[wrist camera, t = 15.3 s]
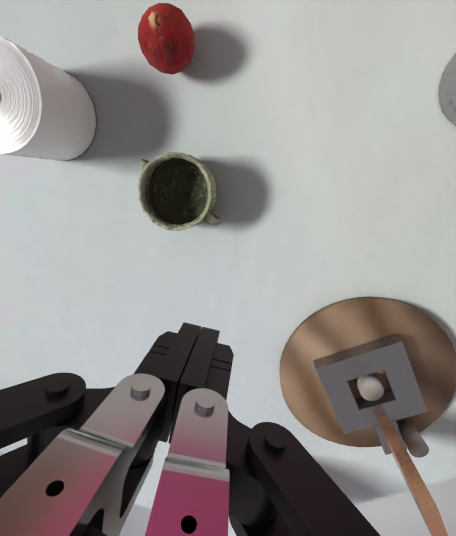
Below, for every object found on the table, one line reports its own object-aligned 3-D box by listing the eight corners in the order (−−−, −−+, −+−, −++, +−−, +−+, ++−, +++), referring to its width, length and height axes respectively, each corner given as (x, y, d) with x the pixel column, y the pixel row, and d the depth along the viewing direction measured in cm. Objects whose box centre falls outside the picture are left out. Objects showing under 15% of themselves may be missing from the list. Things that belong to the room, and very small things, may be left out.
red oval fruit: (207, 72, 35) (192, 41, 27) (162, 90, 36) (136, 65, 28) (191, 17, 34) (171, -32, 26) (145, 37, 35) (113, -5, 27)
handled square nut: (313, 360, 42) (337, 444, 28) (395, 333, 39) (464, 410, 26) (352, 450, 45) (390, 562, 32) (430, 430, 43) (507, 542, 29)
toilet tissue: (106, 152, 39) (56, 142, 29) (26, 169, 41) (-47, 165, 31) (83, 60, 36) (18, 16, 26) (-3, 83, 38) (-92, 49, 28)
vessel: (244, 193, 38) (240, 195, 32) (204, 245, 41) (194, 255, 35) (169, 132, 37) (151, 123, 31) (133, 190, 40) (110, 191, 34)
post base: (372, 261, 39) (389, 273, 34) (488, 376, 42) (521, 404, 36) (246, 370, 45) (244, 394, 40) (354, 463, 48) (365, 497, 43)
